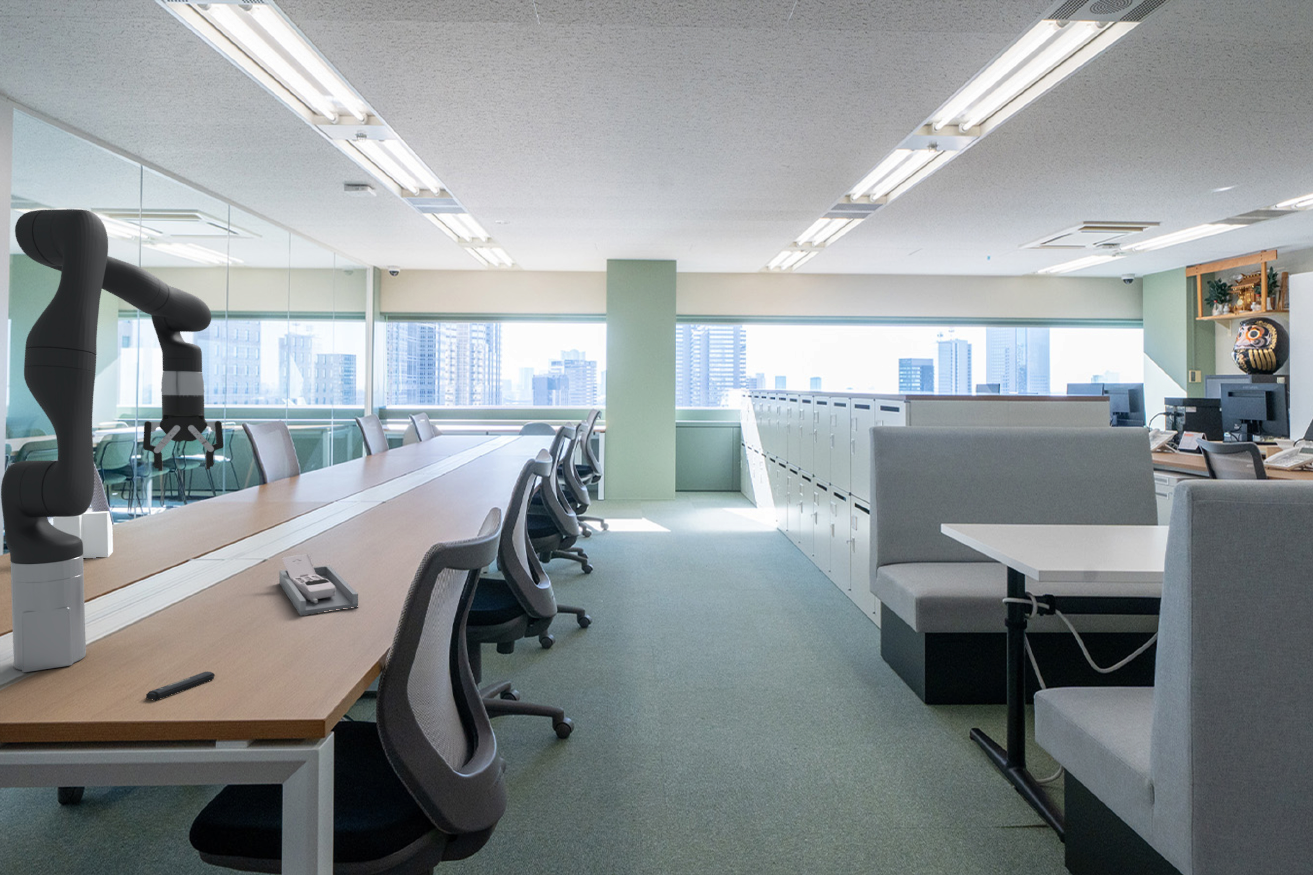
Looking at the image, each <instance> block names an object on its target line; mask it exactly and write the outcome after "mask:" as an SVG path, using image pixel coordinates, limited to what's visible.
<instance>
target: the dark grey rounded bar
mask: <svg viewBox="0 0 1313 875" xmlns="http://www.w3.org/2000/svg"><path fill="white" fill-rule="evenodd" d="M215 677H216V675H215V673H214V672H211V671H204V672H200V673H198V674H195V675H192V676H190V677H186V678H184V679H181V680H179V681H175V682H173V683H169V684H167V685H164V686H161V687H158V688H155V689H153V690H150V691H148V692H147V693H146V695H145V698H146V699H147V698H148V699H147V700H149V699H153V700H155V701H157V700H156V699H160V698H163V697H165V698H167V697H166V696H168V697H170V696H169V695H171V694H173V695H176V694H178V693H177V692H179V693H181V692H180V691H182V690H184V691H186V689H187V690H189V688H190V689H192V688H195V687H197V686H196V685H198V686H200V685H202V684H201V683H203V684H205V683H204V682H206V683H208V682H210V681H209V680H211V681H213V680H214V679H215ZM212 679H213V680H212ZM207 681H208V682H207ZM199 684H200V685H199ZM194 686H195V687H194ZM191 687H192V688H191ZM182 692H183V691H182ZM175 693H176V694H175ZM171 696H172V695H171ZM163 699H164V698H163ZM153 700H152V701H153ZM160 700H161V699H160Z"/></svg>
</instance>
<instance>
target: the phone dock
mask: <svg viewBox="0 0 1313 875" xmlns="http://www.w3.org/2000/svg"><path fill="white" fill-rule="evenodd" d="M313 567H314V570H315V573H316V574H317V575H319V576H320V577H322V578H324V579H327V580H329V581H330V582H331V583H332V584H333V585H334V586H335V588H336V595H335V596H332V597H326V598H320V599H317V600H318V603H314V602H312V601H310V600H307V599H305V598H304V597H303V596H302V594H301V593H300V592H299V590H298V589H297V588H296V586H295V585H294V583H293V582H292V581H291V579H290V576H289V574H288V571H287V569H282V570H279V571H278V573H279V576H278V577H279V581H278V582H279V585H280V587H282V588H281V589H282V590H283V591H284V593H285V594H286V596H287V597H288V598H289V601H290V602H291V603H292V605H293V606H294V608H295V610H296V609H297V610H296V611H297V613H298V612H299V613H298V614H299V616H300V617H302V615H304V616H309V615H308V614H311V615H314V614H313V613H318V612H324V611H329V610H336V609H343V608H351V607H357V606H358V607H359V593H358V592H357V591H356V590H355V589H354V588H353V587H352V586H351V585H350V584H349V583H348V582H347V581H346V580H345V579H344V578H343V577H342V576H341V574H339V573H338V572H337V571H336V570H335V569H334V568H333V567H332V566H331V564H329V565H320V566H319V565H318V566H313ZM318 614H319V613H318Z"/></svg>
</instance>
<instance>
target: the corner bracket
mask: <svg viewBox="0 0 1313 875" xmlns="http://www.w3.org/2000/svg"><path fill="white" fill-rule="evenodd" d="M52 518H53V519H52V521H53V522H52V523H53V525H52V526H54V527H55V528H57V529H58V530H60V531H63V532H65V533H68V534H71V535H74V536H77V537H79V538H80V539H81V540H82V542H83V558H93V559H97V558H96V557H107V558H109V557H110V556H111V555H112V554H113V552H114V538H113V537H114V536H113V534H114V533H113V532H114V531H113V522H112V518H111V513H110V510H107V511H106V510H104V511H86V512H85V513H83V514H82V515H79V516H73V517H52Z"/></svg>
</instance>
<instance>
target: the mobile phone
mask: <svg viewBox="0 0 1313 875" xmlns="http://www.w3.org/2000/svg"><path fill="white" fill-rule="evenodd" d="M282 562H283V564H284V567H285V570H287V571H288V574H289V576H290V579H291V581H292V582H293V583H294V585H295V586H296V588H297V589H298V590H299V592H300V593H301V594H302V596H303V597H304V598H305V599H307V600H310V601H312V602H314V603H318V600H317V599H320V598H326V597H332V596H335V595H336V588H335V586H334V585H333V584H332V583H331V582H330V581H329V580H327V579H324V578H322V577H320V576H319V575H317V574H316V573H315V570H314V567H315V566H314V564H313V562H312V557H311V556H310V554H309V553H305V554H295V555H288V556H283V557H282Z"/></svg>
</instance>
